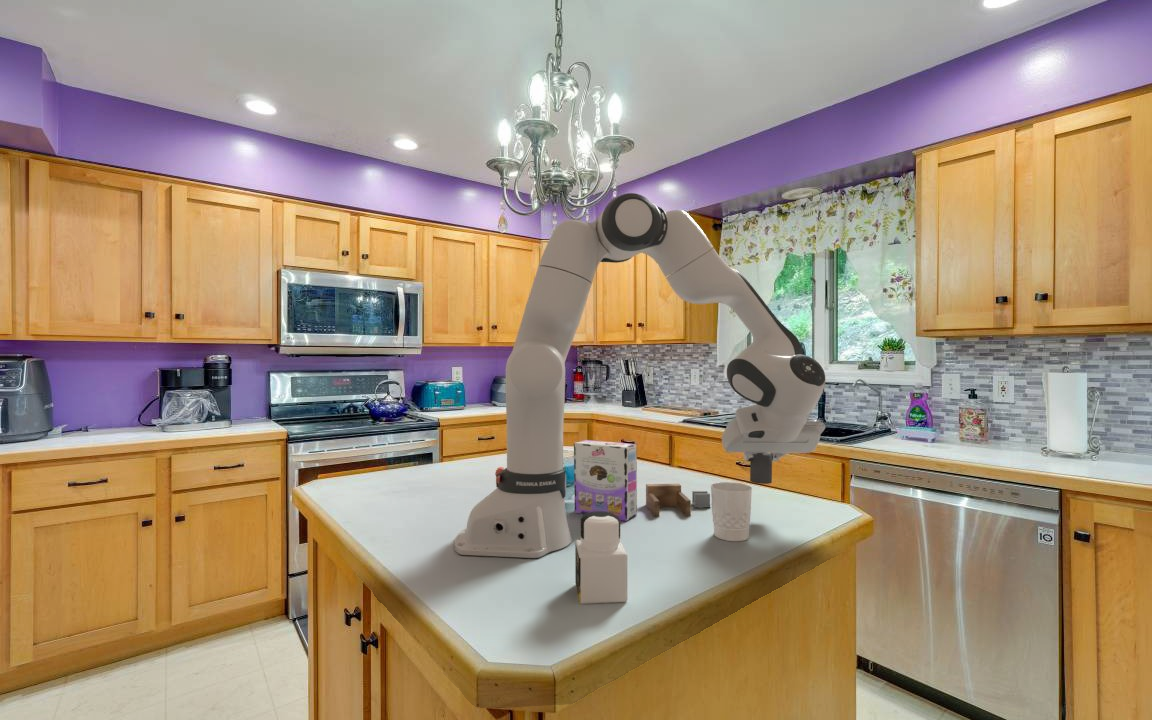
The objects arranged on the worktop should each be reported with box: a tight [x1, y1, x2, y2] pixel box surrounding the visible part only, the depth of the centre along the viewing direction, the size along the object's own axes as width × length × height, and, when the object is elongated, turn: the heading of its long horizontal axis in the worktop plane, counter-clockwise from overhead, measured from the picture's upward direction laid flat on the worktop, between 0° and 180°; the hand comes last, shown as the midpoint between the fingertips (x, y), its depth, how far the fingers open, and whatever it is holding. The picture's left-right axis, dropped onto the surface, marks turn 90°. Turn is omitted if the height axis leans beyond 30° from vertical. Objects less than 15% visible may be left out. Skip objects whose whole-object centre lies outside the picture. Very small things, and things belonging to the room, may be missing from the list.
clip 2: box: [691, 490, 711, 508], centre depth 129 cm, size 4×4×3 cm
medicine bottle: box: [574, 511, 628, 605], centre depth 81 cm, size 7×7×12 cm
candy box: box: [573, 439, 638, 522], centre depth 123 cm, size 14×6×16 cm, turn 58°
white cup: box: [710, 481, 753, 542], centre depth 107 cm, size 8×8×10 cm
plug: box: [749, 453, 773, 485], centre depth 120 cm, size 5×5×9 cm
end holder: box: [645, 483, 692, 518], centre depth 126 cm, size 8×10×5 cm
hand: (760, 459), depth 121 cm, fingers closed on plug, 5 cm apart
